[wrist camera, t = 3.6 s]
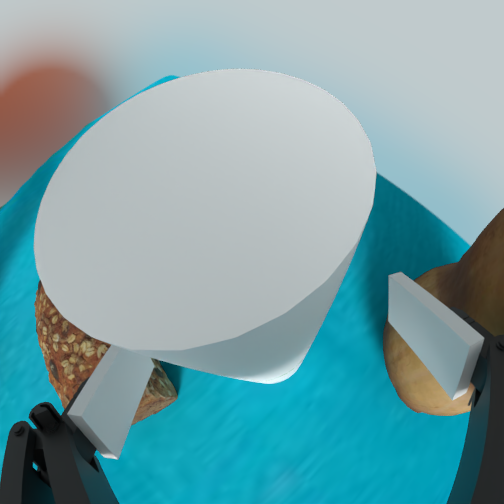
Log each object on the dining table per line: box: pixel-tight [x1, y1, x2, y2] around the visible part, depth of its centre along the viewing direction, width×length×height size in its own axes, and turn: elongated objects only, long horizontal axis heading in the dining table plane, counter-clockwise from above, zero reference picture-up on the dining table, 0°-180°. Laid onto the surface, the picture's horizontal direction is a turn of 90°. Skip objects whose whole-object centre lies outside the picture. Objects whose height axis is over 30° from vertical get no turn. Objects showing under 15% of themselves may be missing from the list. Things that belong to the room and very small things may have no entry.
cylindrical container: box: [34, 69, 377, 384], centre depth 16 cm, size 7×7×25 cm
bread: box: [34, 280, 178, 425], centre depth 24 cm, size 19×11×10 cm, turn 35°
